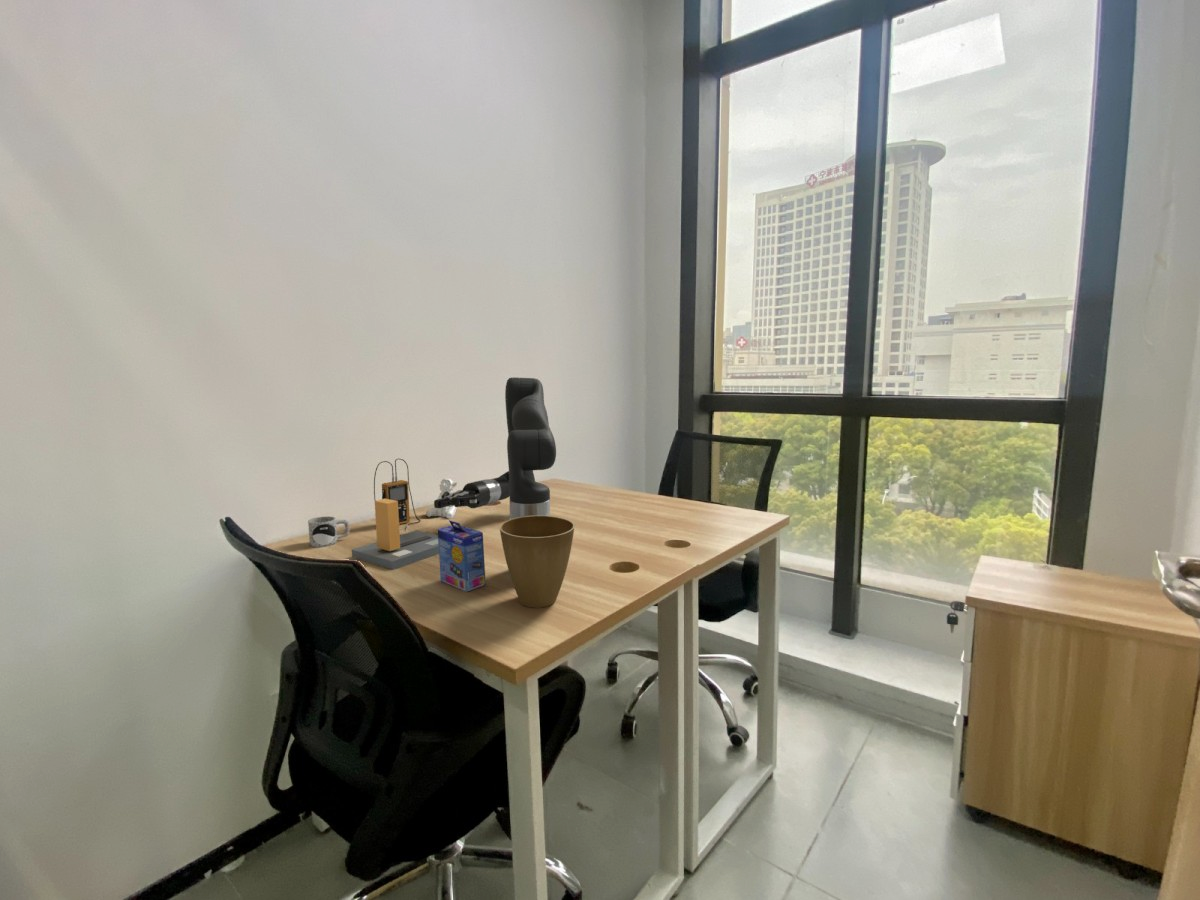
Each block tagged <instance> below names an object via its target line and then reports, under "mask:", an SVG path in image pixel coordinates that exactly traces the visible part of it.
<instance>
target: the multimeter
mask: <svg viewBox="0 0 1200 900" xmlns="http://www.w3.org/2000/svg"><path fill="white" fill-rule="evenodd" d="M400 460H401V461H403V462H404V464H405V465H406V469H407V480H403V479H400V480H399V479H398V475H397V474H398V473H397V461H398V458H396V459H395V460H394V466H393V464H392V463H391V462H390V461H387V460H384V461H380V462H379V463H378V464H377V465H376V468H375V471H374V477H373V495H374V496H373V498H374V499H373V501H374V502H375V501H377V500H376V491H375V490H376V489H375V488H376V475H377V474H376V473H377V470H378V468H379V466H380V464H382V463H388V464H390V466H391V472H392V474H391V476H392V477H391V481H390V482H389V481H388V482H383V483H382V484H381V499H390V500H394V501H398V513H399V525H402V524H403V525H404V524H407V525H406V527H405V531H407V530H409V526H410V525H413V524H417V523H418V524H419V523H420V522H421V518H419V517H417V515H416V510H415V507H414V502H413V497H412V496H413V495H412V492H411V488H410V477H409V465H408V464H407V462H406V460H405V459H403V458H399V461H400ZM394 468H395V473H394ZM394 474H395V476H394ZM409 495H410V496H409ZM409 497H410V498H409ZM410 500H411V506H412V508H413V509H412V510H413V513H414V516H415V519H416V520H418V521H416V522H410V521H411V520H410V519H411V517H410ZM399 531H401V528H399Z"/></svg>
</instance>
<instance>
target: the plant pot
mask: <svg viewBox="0 0 1200 900" xmlns="http://www.w3.org/2000/svg"><path fill="white" fill-rule="evenodd" d="M499 532H500V538H501V544H502V548H503V549H502V550H503V554H504V559H505V561H506V566H507V569H508V573H509V575H510V580H511V582H512V586H513V588H514V590H515V592H516V595H517V597H518V600H519V602H520V604H522V605H523V606H524V607H528V608H544V607H549V606H551V605H553V604H555V602H556V600H557V598H558V596H559V593H560V590H561V588H562V584H563V583H564V578H565V575H566V572H567V568H568V565H569V560H570V556H571V551H572V547H573V541H574V534H575V533H574V532H575V524H574V522H573V521H571V520H569V519H566V518H563V517H559V516H552V515H550V516H524V517H518V518H513V519H510V518H509V519H508V520H505V521H504V522H502V523H501V524H500V525H499Z"/></svg>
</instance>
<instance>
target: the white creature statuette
mask: <svg viewBox="0 0 1200 900" xmlns="http://www.w3.org/2000/svg"><path fill="white" fill-rule="evenodd" d="M457 483H458V482H457V481H453V480H452V479H450V478H448V477H444V478H443V479H441V481H440V484H439V490H440V491H441V492H440V493H439V495H438V497H437V499H441V498H442V497H441V496H442V495H443V493H444V492H446V491H447V492H449V493H452V491H453V490H454V488H456V486H457ZM457 510H458V507H455V506H452V507H449V505H448V506H447V507H443V508H435V507H431V508H429V509H428V510H426V511H425V514H426V516H427V517H428V518H430V517H431V516H432V517H442V518H447V520H451V519H453V518H454V517H455V514H456V512H457Z"/></svg>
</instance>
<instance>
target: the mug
mask: <svg viewBox="0 0 1200 900" xmlns="http://www.w3.org/2000/svg"><path fill="white" fill-rule="evenodd" d="M307 524H308V525H307V526H308V535H309V547H312V548H326V547H330V546H334V545H336V544H337V543H338V540H340V539H343V538H345V537H348V536H349V535H350V524H349V521H348V520H346V519H336V517H335V516H328V515H327V516H319V517H318V516H317V517H314V518H313V517H312V518H310V519H308V522H307ZM340 524H343V525H344V528H345V531H344V532H343V533H338V532H337V525H340Z"/></svg>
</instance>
